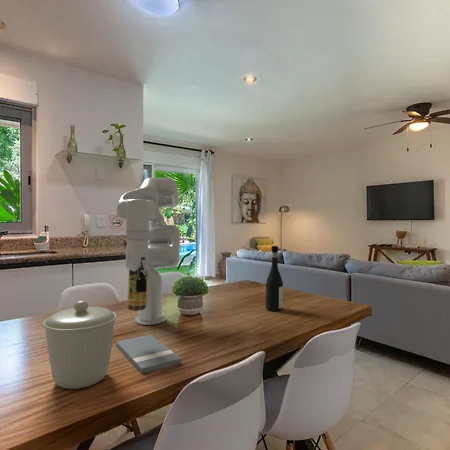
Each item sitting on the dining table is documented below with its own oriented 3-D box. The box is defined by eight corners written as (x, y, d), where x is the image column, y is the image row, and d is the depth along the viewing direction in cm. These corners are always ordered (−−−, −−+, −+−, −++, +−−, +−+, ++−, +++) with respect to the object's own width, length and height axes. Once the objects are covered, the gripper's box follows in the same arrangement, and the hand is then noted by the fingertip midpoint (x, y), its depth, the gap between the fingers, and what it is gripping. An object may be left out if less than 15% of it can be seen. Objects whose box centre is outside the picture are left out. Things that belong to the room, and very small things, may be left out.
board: (116, 345, 112) (116, 341, 112) (150, 338, 119) (150, 334, 119) (141, 373, 92) (141, 368, 92) (180, 363, 99) (180, 358, 99)
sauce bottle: (127, 312, 108) (127, 250, 108) (127, 307, 114) (127, 249, 114) (148, 310, 110) (148, 250, 109) (147, 306, 116) (147, 248, 115)
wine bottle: (282, 307, 161) (282, 245, 161) (283, 312, 153) (284, 247, 153) (265, 307, 162) (266, 245, 161) (265, 311, 154) (266, 246, 153)
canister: (81, 404, 77) (81, 313, 77) (26, 389, 84) (25, 305, 83) (130, 371, 94) (130, 296, 94) (81, 360, 101) (81, 291, 100)
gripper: (118, 235, 116) (118, 286, 117) (135, 237, 102) (135, 296, 102) (139, 234, 121) (139, 284, 121) (158, 237, 106) (158, 293, 107)
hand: (137, 289), depth 112 cm, fingers closed on sauce bottle, 6 cm apart
